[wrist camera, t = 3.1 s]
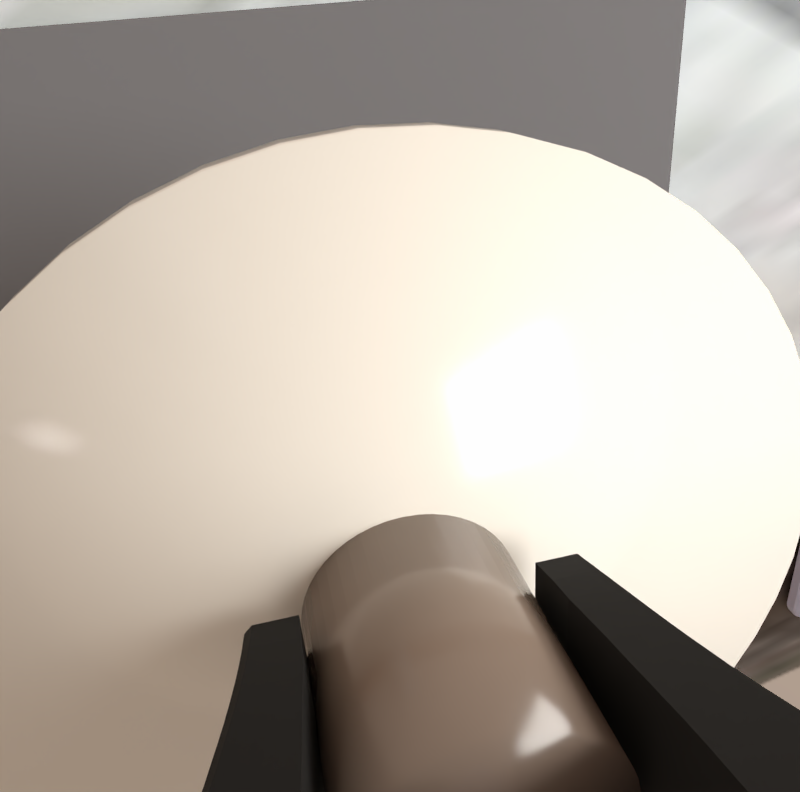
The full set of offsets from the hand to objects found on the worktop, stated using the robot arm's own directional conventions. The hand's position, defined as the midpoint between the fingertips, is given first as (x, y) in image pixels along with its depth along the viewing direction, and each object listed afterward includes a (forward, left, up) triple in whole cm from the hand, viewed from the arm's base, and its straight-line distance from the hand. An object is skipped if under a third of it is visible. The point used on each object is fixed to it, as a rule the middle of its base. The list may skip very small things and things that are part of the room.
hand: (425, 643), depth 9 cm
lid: (0, 0, -1) cm, 1 cm away
